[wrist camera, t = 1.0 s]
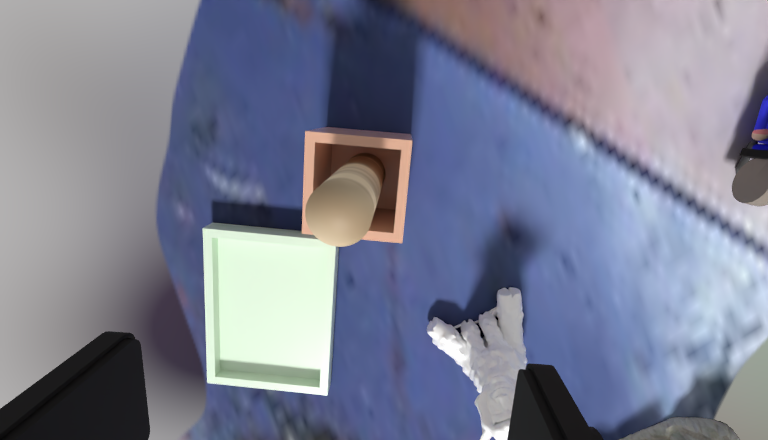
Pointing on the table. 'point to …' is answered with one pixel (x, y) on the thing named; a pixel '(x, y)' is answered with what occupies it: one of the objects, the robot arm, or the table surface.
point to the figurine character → (754, 164)
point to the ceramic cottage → (686, 430)
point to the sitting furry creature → (489, 357)
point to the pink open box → (341, 144)
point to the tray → (269, 308)
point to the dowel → (346, 201)
